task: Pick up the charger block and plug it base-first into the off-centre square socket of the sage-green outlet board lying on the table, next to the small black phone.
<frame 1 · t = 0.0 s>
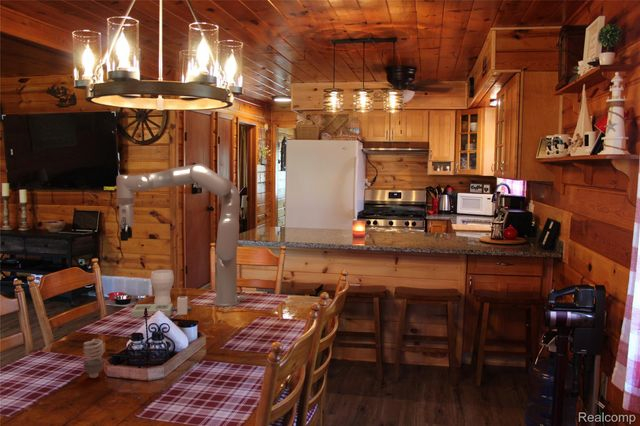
hand: (126, 239, 237), 31 cm above the table, fingers open, 9 cm apart
phone: (182, 310, 236), on the table
light bulb: (94, 379, 158), on the table
charger block: (182, 313, 230), on the table
cup: (162, 303, 247), on the table
outlet board: (152, 312, 229), on the table
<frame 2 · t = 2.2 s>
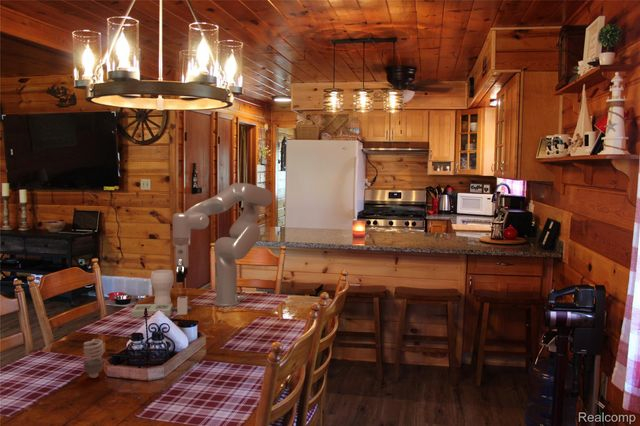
hand: (181, 280, 228), 15 cm above the table, fingers open, 9 cm apart
nothing on the table moved.
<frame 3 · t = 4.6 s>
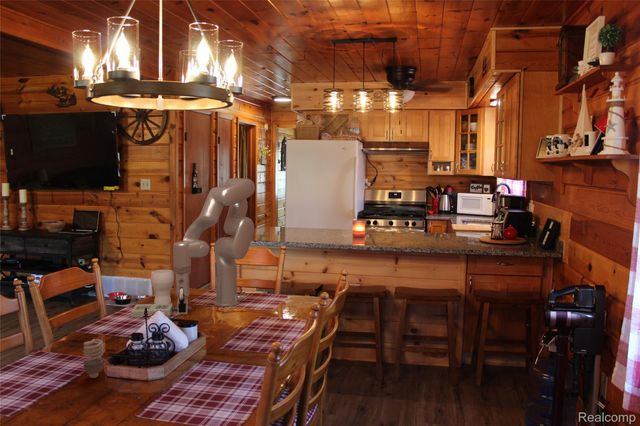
hand: (182, 310, 230), 1 cm above the table, fingers closed on charger block, 4 cm apart
charger block: (182, 313, 230), on the table, touching gripper
everything else where it was.
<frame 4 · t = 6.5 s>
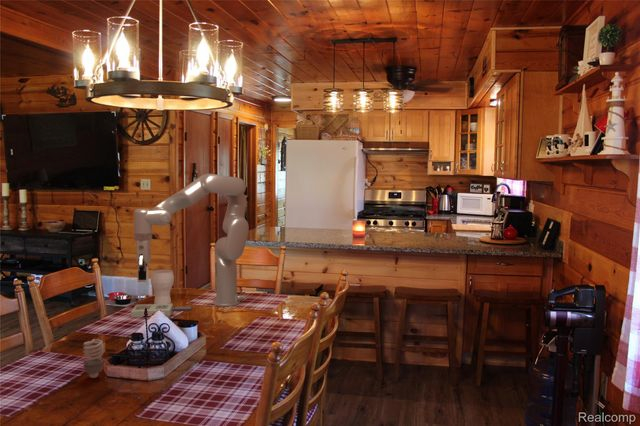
hand: (143, 278, 227), 16 cm above the table, fingers closed on charger block, 4 cm apart
charger block: (143, 281, 227), point 14 cm above the table, touching gripper
everything else where it was.
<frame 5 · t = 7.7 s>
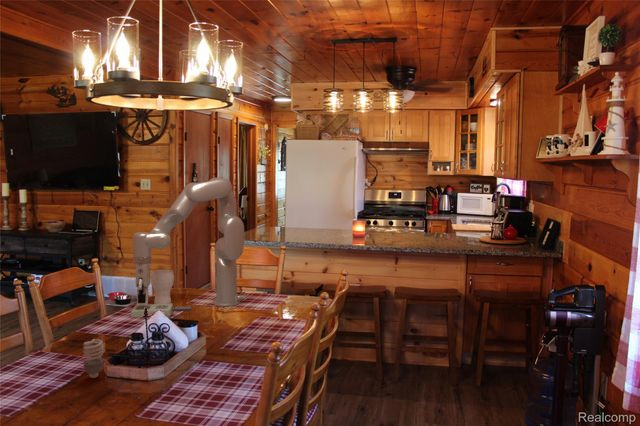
hand: (142, 301, 228), 5 cm above the table, fingers closed on charger block, 4 cm apart
charger block: (142, 304, 228), point 4 cm above the table, touching gripper
everything else where it was.
when the fingers open (3 cm above the table, at t = 8.8 s): charger block drops 2 cm, resting in outlet board.
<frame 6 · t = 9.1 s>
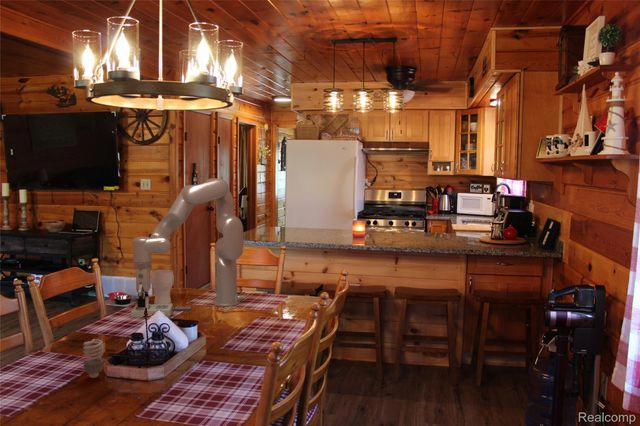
hand: (143, 304, 228), 4 cm above the table, fingers open, 7 cm apart
charger block: (143, 313, 229), resting in outlet board
everything else where it was.
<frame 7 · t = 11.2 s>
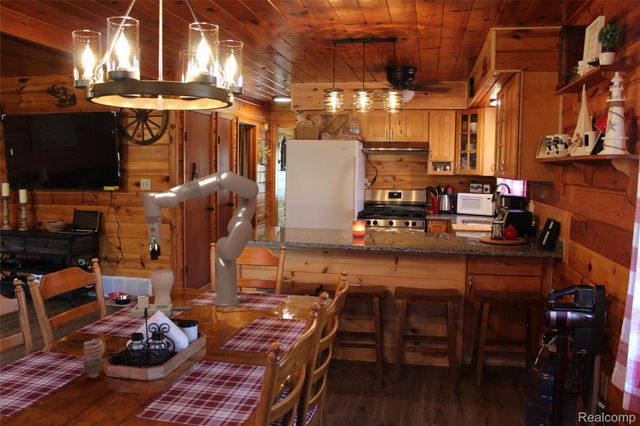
hand: (155, 257, 232), 24 cm above the table, fingers open, 9 cm apart
nothing on the table moved.
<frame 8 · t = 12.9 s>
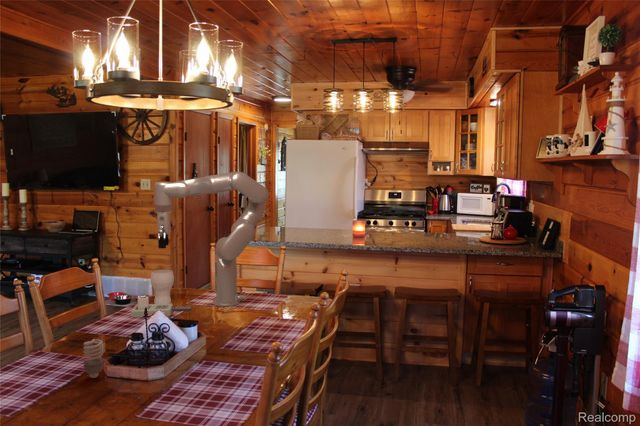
hand: (163, 246, 236), 28 cm above the table, fingers open, 9 cm apart
nothing on the table moved.
at the end: charger block 0.0 cm from the target spot on the outlet board, point 0.0 cm above the outlet board's base; charger block tilted 0°; the gripper is holding nothing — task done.
